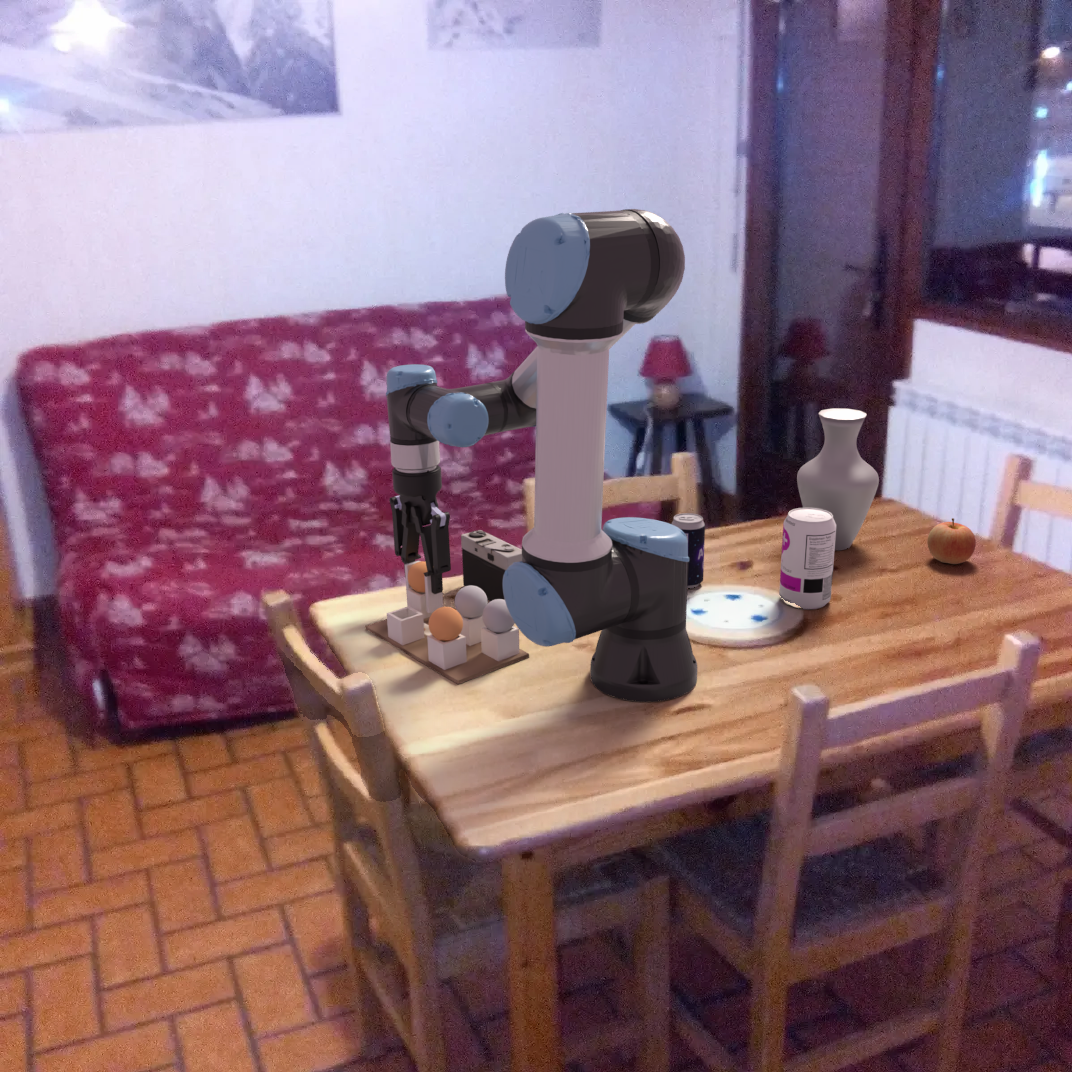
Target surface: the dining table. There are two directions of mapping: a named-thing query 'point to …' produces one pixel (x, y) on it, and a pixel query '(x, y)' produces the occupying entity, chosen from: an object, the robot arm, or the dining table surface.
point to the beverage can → (693, 544)
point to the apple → (951, 542)
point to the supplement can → (807, 557)
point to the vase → (839, 475)
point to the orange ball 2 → (445, 623)
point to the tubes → (448, 654)
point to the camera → (487, 562)
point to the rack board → (458, 674)
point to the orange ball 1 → (417, 576)
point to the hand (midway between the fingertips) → (425, 604)
